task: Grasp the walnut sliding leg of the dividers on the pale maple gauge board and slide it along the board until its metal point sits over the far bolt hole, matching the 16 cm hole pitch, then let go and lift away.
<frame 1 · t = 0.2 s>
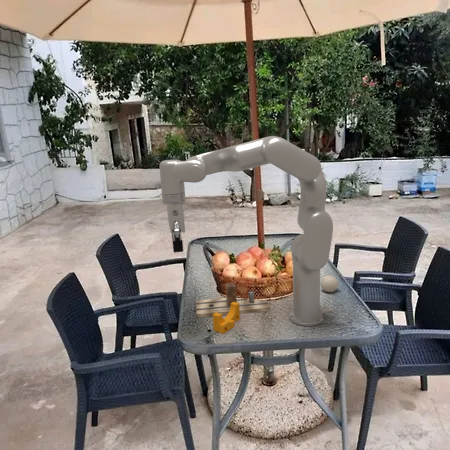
hand: (177, 247, 139), 31 cm above the table, tool pointing down, fingers open, 9 cm apart
gauge board: (231, 307, 162), on the table
sliding leg: (231, 293, 160), point 6 cm above the table, slide at 0.0 cm
baseball: (329, 291, 172), on the table
pipe clamp: (229, 326, 148), on the table
fixed leg: (251, 305, 162), resting on gauge board
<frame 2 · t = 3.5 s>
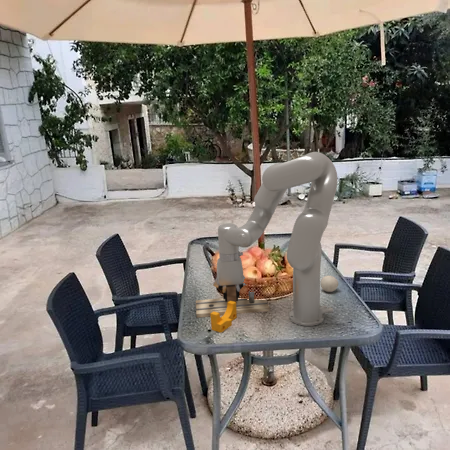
hand: (231, 299, 161), 3 cm above the table, tool pointing down, fingers closed on sliding leg, 3 cm apart
sliding leg: (231, 293, 160), point 6 cm above the table, slide at 0.0 cm, touching gripper
pipe clamp: (226, 324, 149), on the table
everything else where it was.
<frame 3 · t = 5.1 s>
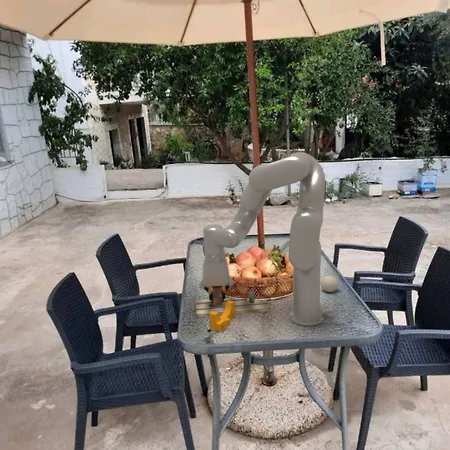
hand: (217, 301, 161), 3 cm above the table, tool pointing down, fingers closed on sliding leg, 3 cm apart
sliding leg: (217, 295, 160), point 6 cm above the table, slide at 5.5 cm, touching gripper
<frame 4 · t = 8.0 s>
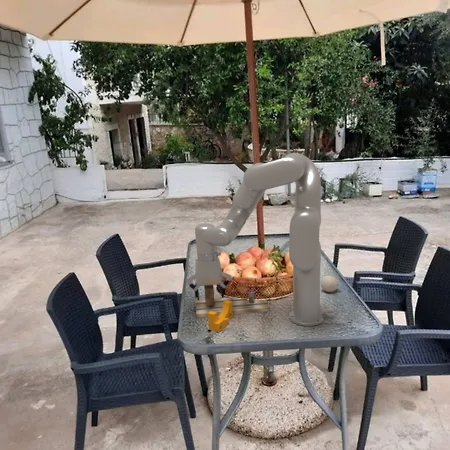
hand: (210, 297, 160), 5 cm above the table, tool pointing down, fingers open, 9 cm apart
sliding leg: (209, 295, 160), point 6 cm above the table, slide at 8.5 cm
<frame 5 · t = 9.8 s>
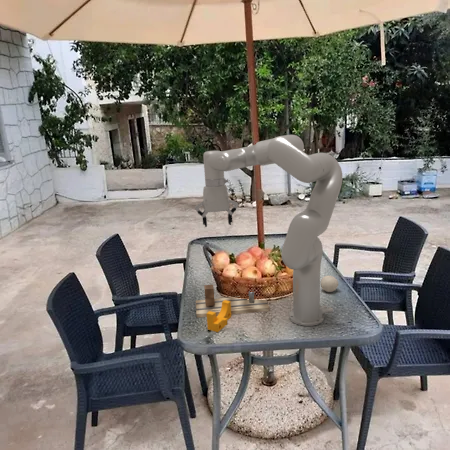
hand: (217, 225, 165), 31 cm above the table, tool pointing down, fingers open, 9 cm apart
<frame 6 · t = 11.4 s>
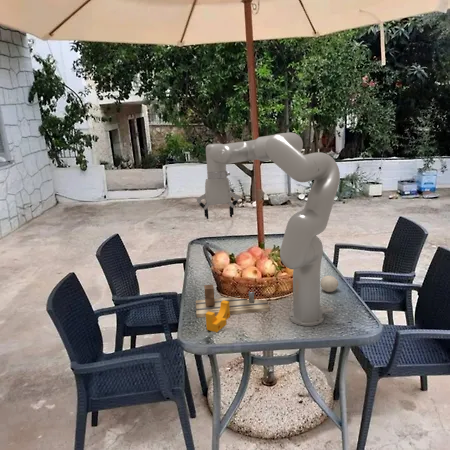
hand: (219, 217, 167), 33 cm above the table, tool pointing down, fingers open, 9 cm apart
at the end: sliding leg slide at 8.5 cm; the gripper is holding nothing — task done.
